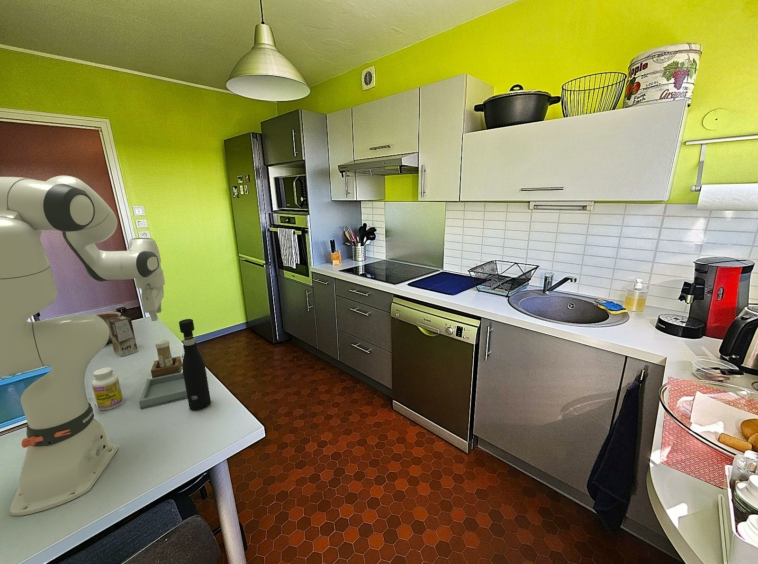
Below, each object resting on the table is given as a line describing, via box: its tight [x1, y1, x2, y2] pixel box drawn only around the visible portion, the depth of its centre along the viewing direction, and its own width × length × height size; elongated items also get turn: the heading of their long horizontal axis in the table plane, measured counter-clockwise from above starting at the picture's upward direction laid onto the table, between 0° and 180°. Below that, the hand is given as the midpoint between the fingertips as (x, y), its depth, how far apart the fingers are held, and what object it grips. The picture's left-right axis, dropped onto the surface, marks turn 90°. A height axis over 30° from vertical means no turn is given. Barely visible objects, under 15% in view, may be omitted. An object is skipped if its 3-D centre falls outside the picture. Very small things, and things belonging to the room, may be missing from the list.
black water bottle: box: [178, 318, 212, 412], centre depth 104 cm, size 6×6×30 cm
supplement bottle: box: [91, 366, 124, 411], centre depth 107 cm, size 7×7×13 cm
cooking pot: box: [93, 311, 122, 343], centre depth 157 cm, size 25×19×12 cm
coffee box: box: [107, 314, 139, 357], centre depth 145 cm, size 9×6×16 cm
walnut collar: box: [150, 355, 183, 379], centre depth 128 cm, size 9×9×4 cm
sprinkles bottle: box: [154, 338, 173, 368], centre depth 127 cm, size 5×5×13 cm
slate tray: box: [138, 371, 188, 410], centre depth 115 cm, size 15×15×3 cm
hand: (157, 316), depth 123 cm, fingers open, 8 cm apart
